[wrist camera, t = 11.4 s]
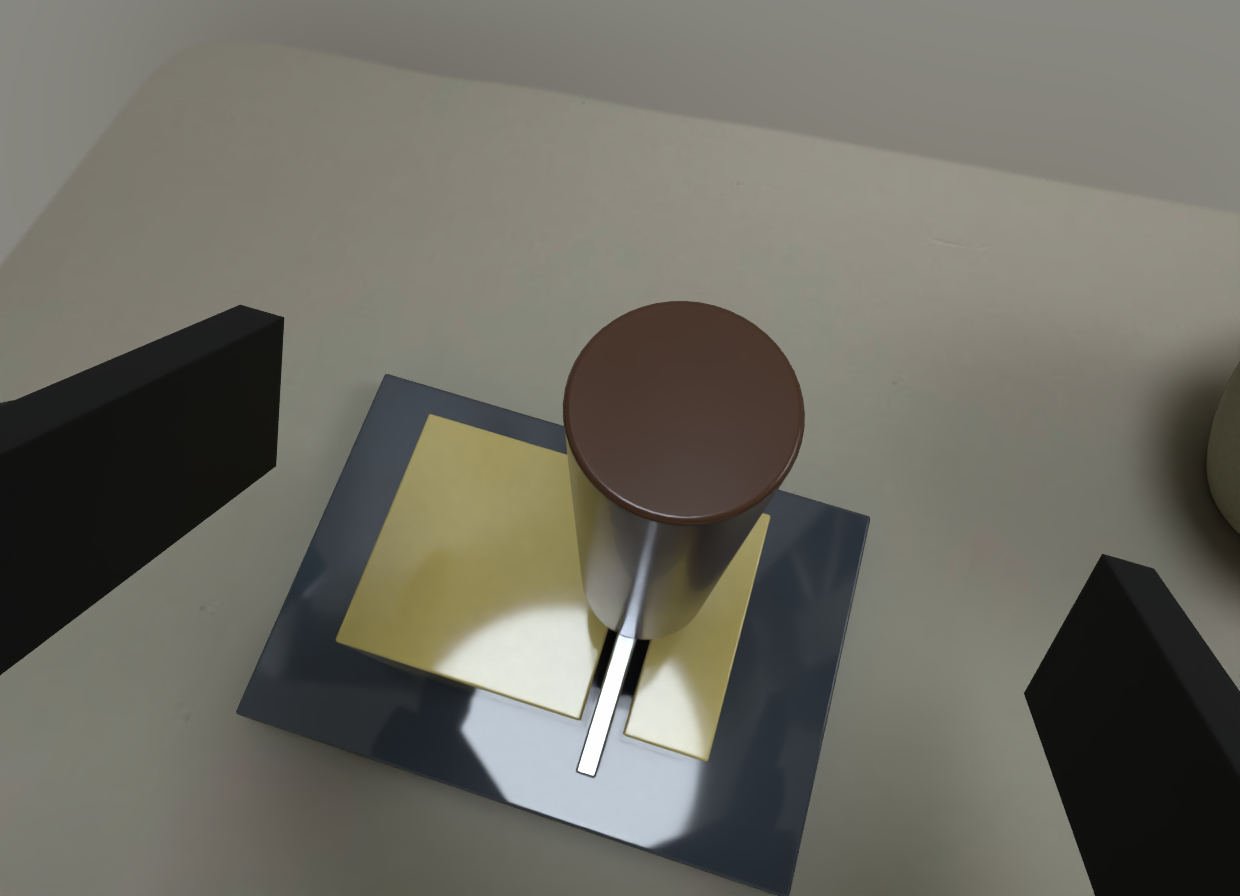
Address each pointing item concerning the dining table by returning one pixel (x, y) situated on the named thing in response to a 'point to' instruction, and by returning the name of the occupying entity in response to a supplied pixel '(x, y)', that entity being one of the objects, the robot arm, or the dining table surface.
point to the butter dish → (536, 753)
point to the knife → (670, 469)
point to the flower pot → (1226, 453)
